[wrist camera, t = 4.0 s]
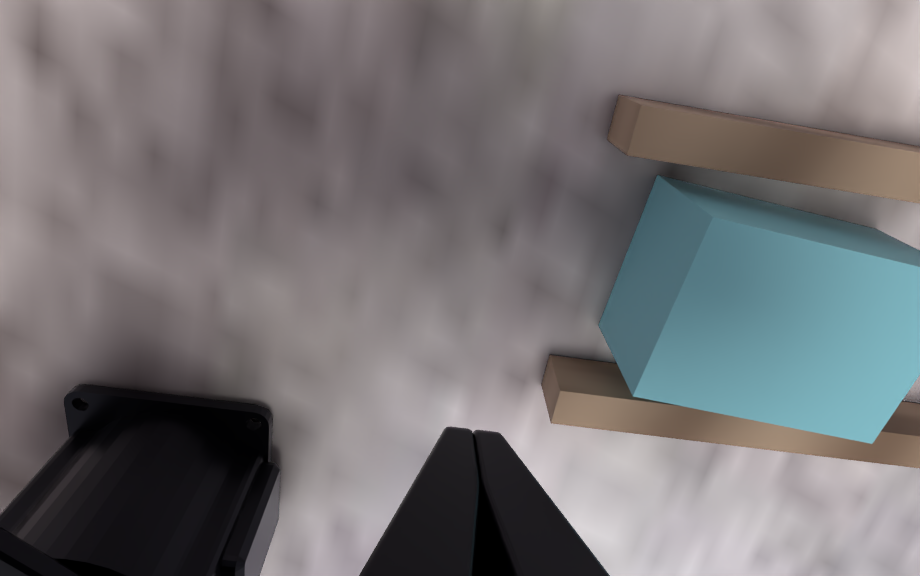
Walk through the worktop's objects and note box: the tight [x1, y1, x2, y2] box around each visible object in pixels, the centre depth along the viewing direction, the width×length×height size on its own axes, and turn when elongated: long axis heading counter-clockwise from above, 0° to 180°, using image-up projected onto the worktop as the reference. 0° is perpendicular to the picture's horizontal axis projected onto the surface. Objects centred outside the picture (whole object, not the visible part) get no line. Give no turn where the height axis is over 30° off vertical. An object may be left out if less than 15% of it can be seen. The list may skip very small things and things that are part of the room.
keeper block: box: [598, 175, 920, 444], centre depth 16 cm, size 7×5×4 cm
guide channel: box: [542, 95, 920, 468], centre depth 17 cm, size 20×9×3 cm, turn 81°
